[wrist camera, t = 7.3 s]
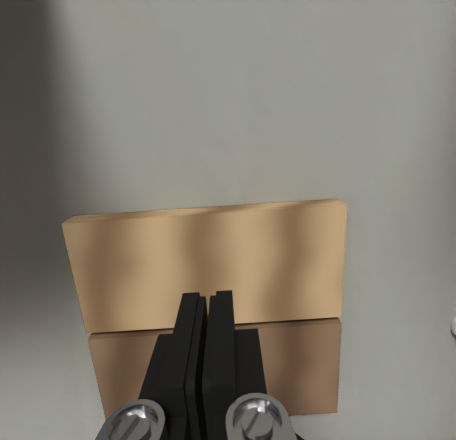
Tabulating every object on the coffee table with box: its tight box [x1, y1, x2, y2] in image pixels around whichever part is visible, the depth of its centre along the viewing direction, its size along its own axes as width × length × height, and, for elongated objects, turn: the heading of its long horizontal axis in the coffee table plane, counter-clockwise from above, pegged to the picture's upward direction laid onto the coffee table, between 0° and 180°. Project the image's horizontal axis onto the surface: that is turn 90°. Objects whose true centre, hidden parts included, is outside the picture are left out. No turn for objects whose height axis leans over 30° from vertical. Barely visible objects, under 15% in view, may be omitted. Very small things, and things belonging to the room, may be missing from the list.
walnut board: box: [88, 317, 341, 420], centre depth 27 cm, size 20×9×2 cm, turn 94°
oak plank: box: [61, 199, 347, 333], centre depth 24 cm, size 20×9×2 cm, turn 94°
